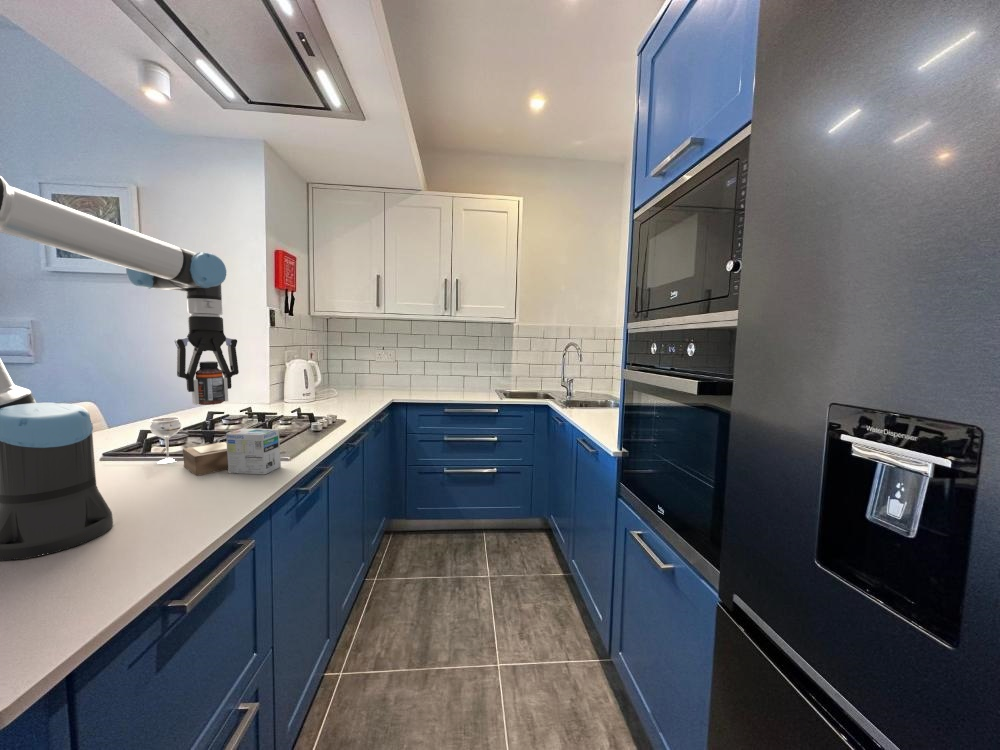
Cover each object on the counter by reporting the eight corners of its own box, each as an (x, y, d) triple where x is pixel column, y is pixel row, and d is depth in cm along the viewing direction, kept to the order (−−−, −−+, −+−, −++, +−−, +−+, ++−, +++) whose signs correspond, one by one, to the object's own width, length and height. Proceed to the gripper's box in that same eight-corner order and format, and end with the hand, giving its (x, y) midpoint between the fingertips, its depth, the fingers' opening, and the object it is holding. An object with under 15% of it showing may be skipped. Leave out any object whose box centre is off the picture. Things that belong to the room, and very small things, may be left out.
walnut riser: (196, 475, 104) (194, 455, 103) (183, 466, 111) (182, 447, 110) (244, 465, 112) (243, 447, 112) (230, 457, 119) (229, 440, 119)
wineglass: (146, 463, 113) (143, 420, 112) (172, 456, 120) (169, 416, 119) (163, 465, 111) (160, 422, 110) (189, 458, 118) (186, 417, 117)
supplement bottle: (192, 404, 109) (189, 361, 107) (216, 401, 114) (214, 360, 113) (204, 406, 106) (202, 362, 105) (228, 402, 111) (226, 361, 110)
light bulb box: (281, 467, 111) (280, 428, 110) (265, 475, 105) (263, 434, 104) (245, 465, 112) (243, 427, 111) (226, 473, 106) (224, 432, 105)
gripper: (163, 313, 98) (170, 408, 100) (250, 317, 112) (254, 399, 115) (156, 314, 103) (162, 405, 105) (240, 317, 117) (244, 397, 119)
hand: (210, 402), depth 110 cm, fingers closed on supplement bottle, 6 cm apart
